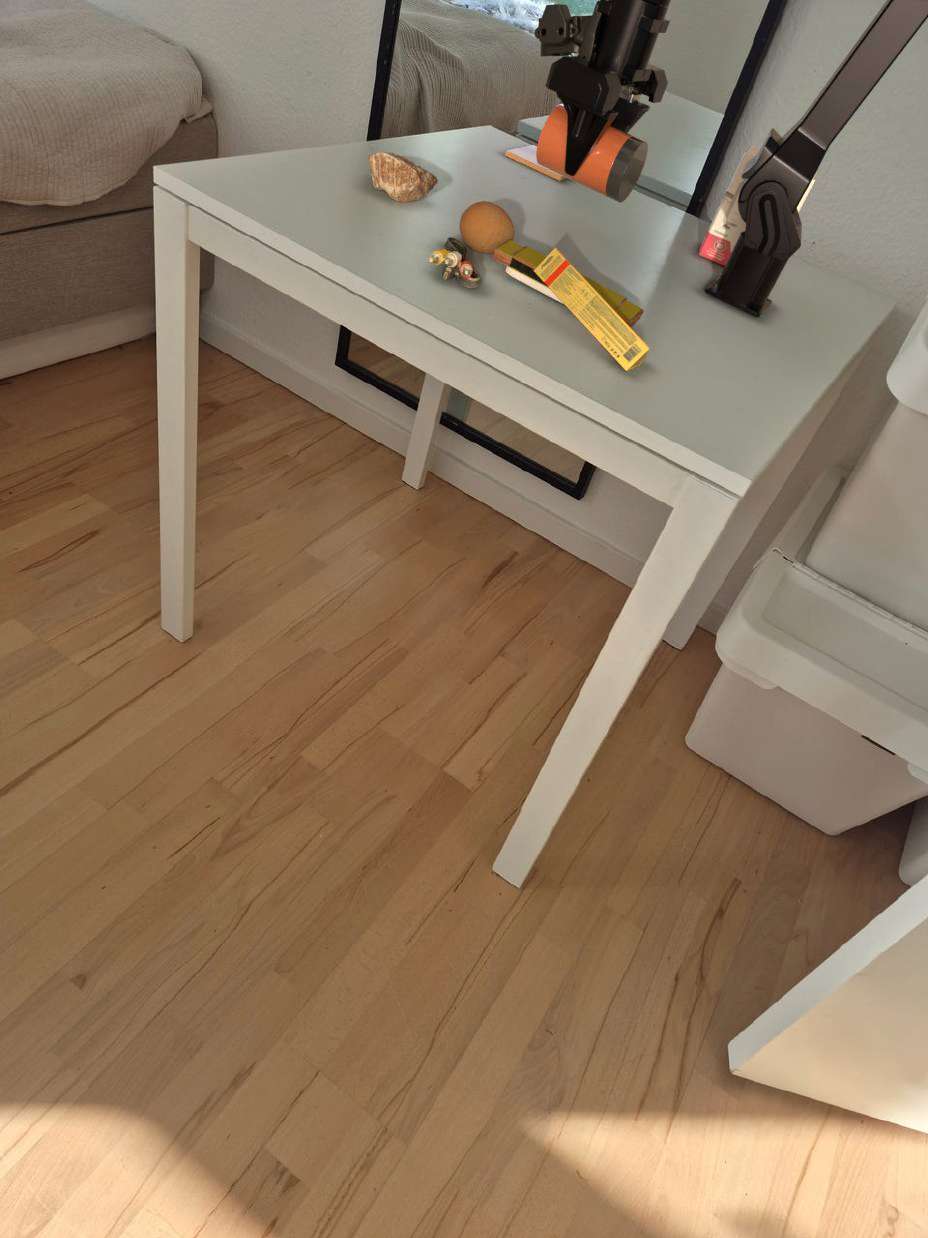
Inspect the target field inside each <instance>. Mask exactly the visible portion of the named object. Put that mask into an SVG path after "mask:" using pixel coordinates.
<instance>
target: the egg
mask: <svg viewBox="0 0 928 1238" xmlns="http://www.w3.org/2000/svg"><path fill="white" fill-rule="evenodd" d="M459 232H460V236H461V238H462V240H463V241H464V244H465V245H466V246H467V247H469V248H470V249H471V250H473V251H475V252H477V253H481V254H494V251H495V248H497V247H498V246H500V245H501V244H503V243H505V242H506V241H508V240H511V241H514V239H515V235H516V229H515V224H514V223H513V220H512V218H511V216H510V215H509V214H508V212H506V211H505V209H504V208H503V207H501V206H500V205H498V204H497V203H494V202H492V201H485V200H481V201H477V202H474V203H472V204H470V205H469V206H468V207H466V209H465V210H464V211H463V212H462V213H461V216H460V219H459Z"/></svg>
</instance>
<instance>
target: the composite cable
mask: <svg viewBox="0 0 928 1238" xmlns="http://www.w3.org/2000/svg"><path fill="white" fill-rule="evenodd" d="M469 253H470V250H469V248H468V246H467V244H466V243H463V242H462V241H460V240H459V239H457V238H456V237H453V236H452V237H451V236H449V237H447V239H446V242H445V243H444V248H442V249H438V250H433V252H432V253H431V255H430V256H429V258H428V261H429V263H430V264H433V265H435V266H439V265H442V264H445V265H444V267H443V268H442V272H441V275H442V277H443V280H451V279H453V278H454V276H455V277H456V281H457V282H458V284H459V285H460V286H462V287H464V288H467V289H476V288H479V287H480V285H481V274H480V272H479V271H478V270H477V269H475V267H474V266H473V265H472V263H471V262H470V261H469V260H468V256H469Z"/></svg>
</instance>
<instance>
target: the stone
mask: <svg viewBox="0 0 928 1238" xmlns="http://www.w3.org/2000/svg"><path fill="white" fill-rule="evenodd" d="M367 160H368V163H369V170H370V174H371V178H372V184H373V188H374V189H375V190H377V191H385V192H386V194H387V195H388V196H389V197H390V198H391V199H392V200H395V201H396V202H400V203H405V204H406V203H411V202H414V201H417V200H420V199H422V198H424V197H425V196H426V195H427V194H429V192H431V191H432V190H433V189H434V188H435V186H436V185H437V184H438V182H439V179H438V177H437V176H436V175H435V174H433V173H432V172H430V171H428V170H427V169H424V168H423V167H422V166H421V165H417V164H416V163H415V162H413V161H412V160H410V159H408V158H406V157H404V156H402V155H399V154H395V153H393V152H388V151H379V152H375V153H372V154H370V155H368V157H367Z"/></svg>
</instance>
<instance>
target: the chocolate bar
mask: <svg viewBox="0 0 928 1238" xmlns="http://www.w3.org/2000/svg"><path fill="white" fill-rule="evenodd" d="M546 256H547V257H546V258H545V259H544V260H543V261H542V262H541V263H540V264H539V265H538V266H537V267H536V268H535V269H534V272H535V273H536V274H537V276H538V277H539V278H540V279H541V280H542V281H543V282H544V283H545V284H546V285H547V286H548V287H549V288H550V290H551V291H552V292H553V293H554V294H555V295H556V296H557V297H558V298H559V299H560V300H561V301H562V303H563V304H562V303H561V304H562V305H563V306H565V307H566V309H568V310H569V311H570V312H571V314H572V315H573V316H574V317H575V318H576V319H577V320H578V321H579V322H580V323H581V325H583V327H584V328H585V329H586V330H587V331H588V332H589V333H590V334H591V335H592V336H593V337H594V339H595V340H596V341H598V343H599V344H600V345H601V346H602V347H603V348H604V349H605V351H606V352H607V353H608V354H609V355H610V356H611V357H612V358H613V359H614V360H615V361H616V363H618V365H620V367H622V369H623V370H624V371H625V372H629V371H631V370H633V369H636V368H638V367H640V366H642V364H643V362H644V360H645V359H646V357H647V355H648V353H649V352H650V350H651V348H650V346H649V345H648V344H647V343H646V342H645V341H644V340H643V338H641V337H640V336H639V335H638V333H636V332H635V330H633V329H632V327H631V328H630V327H629V325H628V324H627V323H626V322H625V321H624V320H623V319H622V318H621V317H620V316H619V315H618V314H617V313H616V312H615V310H614V309H613V308H612V307H611V306H610V305H609V304H608V303H607V302H606V301H605V300H604V299H603V298H602V297H601V295H600V294H599V293H598V292H597V291H596V290H595V289H594V288H593V287H592V286H591V285H590V284H589V283H588V282H587V280H586V279H585V278H584V277H583V276H582V275H583V274H582V273H580V272H579V271H578V270H577V269H576V268H575V266H574V265H572V263H571V262H570V261H569V260H568V259H567V258H566V257H565V255H563V254H562V252H561V251H559V249H558V248H557V247H555V248H553V249H552V250H551V251H550V252H549V253H548V254H547V255H546ZM581 274H582V275H581Z"/></svg>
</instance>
